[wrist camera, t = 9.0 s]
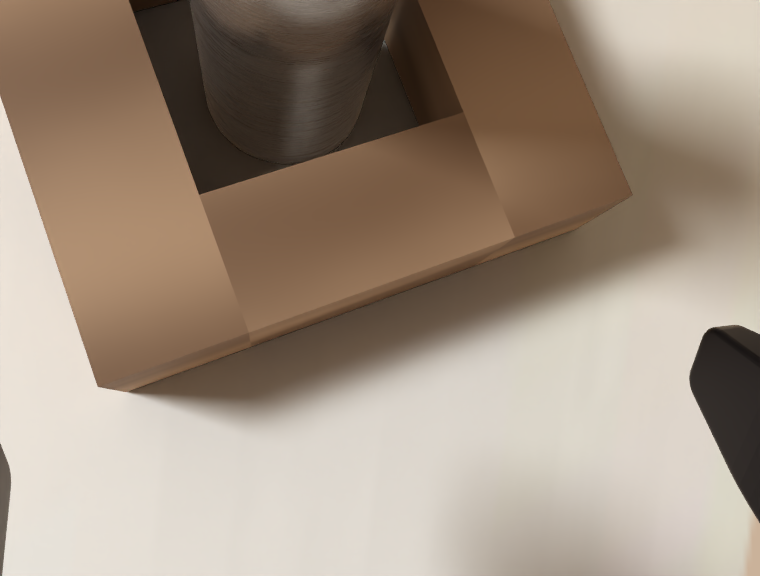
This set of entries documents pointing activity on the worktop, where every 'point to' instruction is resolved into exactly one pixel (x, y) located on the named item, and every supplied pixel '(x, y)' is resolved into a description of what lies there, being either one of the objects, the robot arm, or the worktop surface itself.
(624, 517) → the worktop surface
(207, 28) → the metal pin
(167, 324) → the wooden square frame
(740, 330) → the robot arm
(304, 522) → the worktop surface
